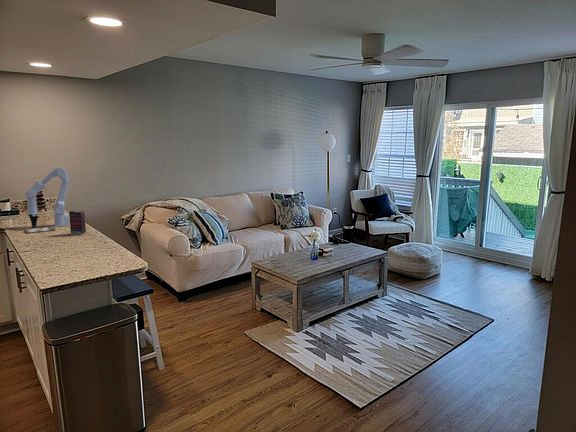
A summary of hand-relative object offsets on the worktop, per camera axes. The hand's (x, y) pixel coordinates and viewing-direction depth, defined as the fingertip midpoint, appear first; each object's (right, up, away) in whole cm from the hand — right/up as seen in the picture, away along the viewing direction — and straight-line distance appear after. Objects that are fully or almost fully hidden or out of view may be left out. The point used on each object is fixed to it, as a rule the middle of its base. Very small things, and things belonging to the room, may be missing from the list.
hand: (34, 224), depth 292 cm
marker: (0, -2, 0) cm, 2 cm away
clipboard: (+10, -4, -8) cm, 13 cm away
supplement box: (+42, -6, -17) cm, 46 cm away
